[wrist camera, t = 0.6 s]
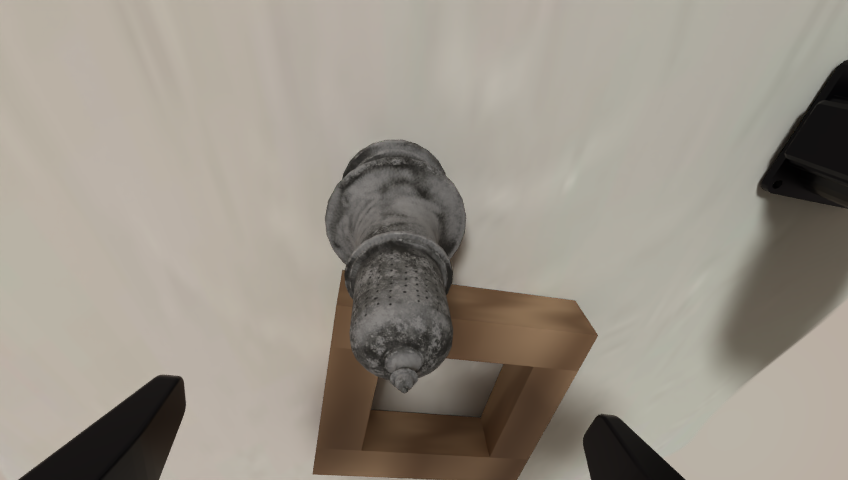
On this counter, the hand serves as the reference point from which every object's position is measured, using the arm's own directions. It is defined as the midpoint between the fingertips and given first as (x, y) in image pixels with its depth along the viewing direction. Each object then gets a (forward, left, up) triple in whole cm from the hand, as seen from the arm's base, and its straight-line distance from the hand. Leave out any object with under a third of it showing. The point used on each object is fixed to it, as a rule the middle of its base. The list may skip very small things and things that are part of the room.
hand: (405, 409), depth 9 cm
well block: (-5, +12, -13) cm, 18 cm away
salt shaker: (0, 0, -13) cm, 13 cm away
